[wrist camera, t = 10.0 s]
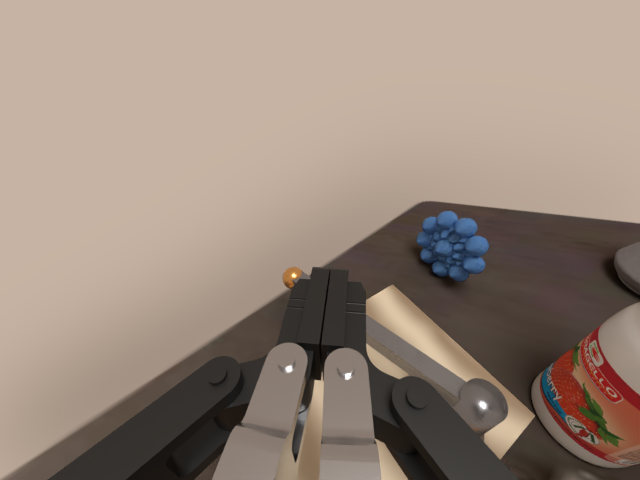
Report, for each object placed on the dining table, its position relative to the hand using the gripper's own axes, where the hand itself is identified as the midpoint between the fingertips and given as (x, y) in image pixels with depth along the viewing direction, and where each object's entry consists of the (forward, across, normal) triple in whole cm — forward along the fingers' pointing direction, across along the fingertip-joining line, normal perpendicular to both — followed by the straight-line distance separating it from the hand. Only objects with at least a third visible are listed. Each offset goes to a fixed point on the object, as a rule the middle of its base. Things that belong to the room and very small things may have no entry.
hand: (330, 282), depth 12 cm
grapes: (+28, -16, +24) cm, 40 cm away
